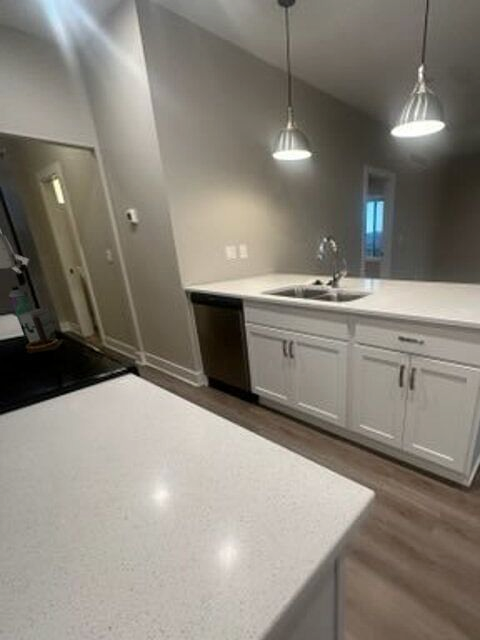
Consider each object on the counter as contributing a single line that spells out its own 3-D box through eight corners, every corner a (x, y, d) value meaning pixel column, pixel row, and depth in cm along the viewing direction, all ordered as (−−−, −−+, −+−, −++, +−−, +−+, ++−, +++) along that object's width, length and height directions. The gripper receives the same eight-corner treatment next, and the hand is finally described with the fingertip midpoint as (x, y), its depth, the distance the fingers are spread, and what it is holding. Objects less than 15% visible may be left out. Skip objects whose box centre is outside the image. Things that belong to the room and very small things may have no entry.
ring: (22, 351, 118) (21, 348, 117) (31, 343, 126) (30, 340, 125) (54, 347, 121) (53, 343, 120) (60, 339, 129) (59, 336, 128)
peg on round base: (28, 355, 119) (15, 323, 114) (36, 347, 127) (25, 316, 122) (58, 350, 122) (47, 319, 117) (64, 342, 129) (54, 313, 125)
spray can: (37, 332, 145) (20, 284, 137) (42, 334, 142) (25, 285, 134) (22, 336, 141) (3, 287, 133) (27, 338, 138) (8, 288, 130)
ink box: (45, 337, 137) (35, 308, 133) (57, 336, 137) (47, 307, 133) (29, 344, 129) (17, 314, 125) (41, 344, 129) (30, 313, 125)
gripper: (-56, 233, 102) (-33, 291, 108) (14, 230, 107) (32, 285, 114) (-43, 232, 108) (-22, 287, 115) (22, 230, 114) (39, 282, 120)
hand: (5, 286), depth 114 cm, fingers open, 9 cm apart
